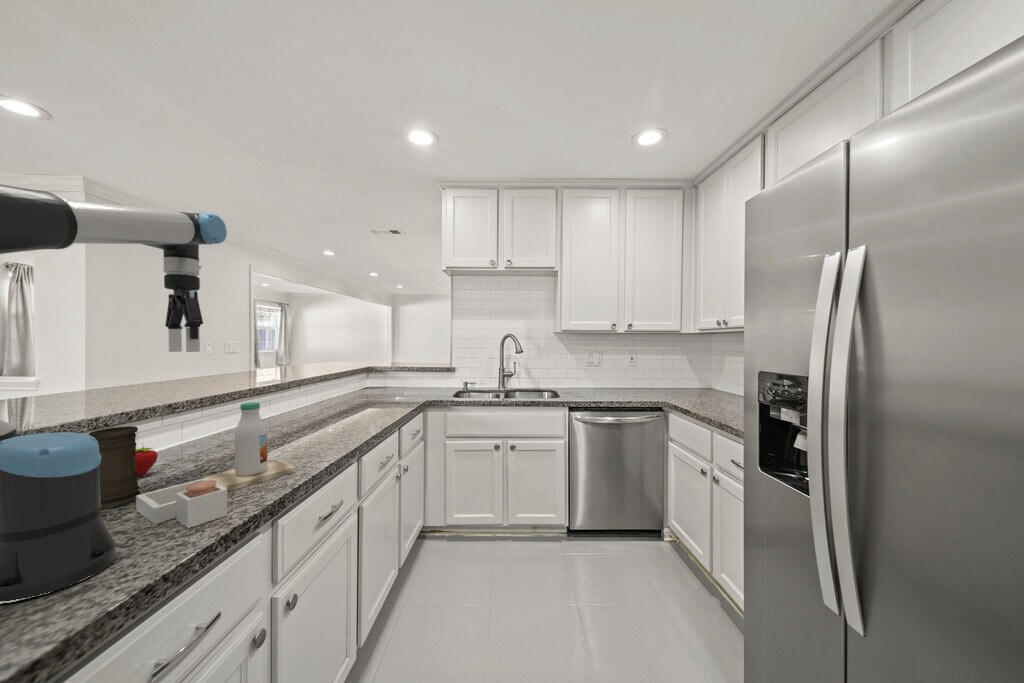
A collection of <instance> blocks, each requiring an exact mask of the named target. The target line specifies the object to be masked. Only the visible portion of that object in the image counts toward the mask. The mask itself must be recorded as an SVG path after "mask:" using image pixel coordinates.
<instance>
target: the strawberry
mask: <svg viewBox="0 0 1024 683" xmlns="http://www.w3.org/2000/svg"><path fill="white" fill-rule="evenodd" d="M141 444H142V447H139V448H136V468H137V476H138V478H139V477H143V476H145V475H146V474H147V473H148V472H149V471H150V469H151V468H153V466H154V465H155V464H156V462H157V460H158V458H159V457H158V456H159V455H158V452H157V451H155V450H154V448H153V447H145V446H144V444H143V442H142V441H141ZM152 449H153V450H152Z"/></svg>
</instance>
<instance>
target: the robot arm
mask: <svg viewBox="0 0 1024 683" xmlns="http://www.w3.org/2000/svg"><path fill="white" fill-rule="evenodd" d="M227 234H228V231H227V226H226V224H225V221H224V219H222V218H221V217H220V216H219V215H218V214H216V213H211V212H204V211H202V212H186V211H177V210H175V211H174V210H167V209H157V208H148V207H139V206H138V207H137V206H130V205H119V204H109V203H103V202H102V203H100V202H93V201H84V200H83V201H82V200H73V199H72V200H71V199H65V198H63V197H62V196H60V195H59V194H57V193H55V192H51V191H45V190H38V189H37V190H36V189H31V188H23V187H19V186H12V185H6V184H0V255H4V254H10V253H12V254H13V253H20V252H30V251H38V250H40V251H42V250H64V249H67V248H69V247H71V246H73V245H74V244H96V245H97V244H100V245H103V244H104V245H107V244H109V245H110V244H116V245H123V244H125V245H126V244H129V245H130V244H131V245H134V244H135V245H136V244H137V245H142V246H144V245H145V246H148V247H152V248H156V249H160V250H163V252H162V253H163V272H164V273H165V274H164V277H163V284H164V285H163V286H164V288H165V289H166V290H172V291H173V293H169V294H168V305H167V311H166V312H167V313H166V319H165V327H166V328H167V329H168V353H178V352H180V353H181V352H182V351H183V347H182V346H183V345H182V343H183V341H182V336H183V335H182V330H183V328H185V352H186V353H196V352H197V353H199V352H201V351H200V348H201V345H200V344H201V343H200V340H201V339H200V327H201V325H203V324H204V320H203V316H202V312H201V311H202V310H201V306H200V303H199V299H198V298H199V297H198V296H199V295H198V291H199V290H200V289H201V284H200V283H201V279H200V277H199V275H200V270H202V265H200V256H199V255H200V253H199V252H200V251H199V250H200V249H199V248H200V247H199V246H200V245H209V246H211V245H218V244H222V243H223V242H225V240H226V238H227ZM183 317H184V320H185V323H184V325H181V324H182V321H183ZM183 326H184V327H183ZM107 527H108V526H106V524H105V522H104V521H103V518H102V509H101V455H100V453H99V444H98V441H97V440H96V439H95V438H94V437H92V436H90V435H89V434H85V433H81V432H80V433H79V432H71V431H70V432H66V431H65V432H64V431H62V432H61V431H60V432H52V433H51V432H44V433H43V432H42V433H33V434H25V435H20V436H18V433H17V428H16V425H15V424H13V423H10V422H8V421H7V422H6V421H4V420H1V419H0V601H10V600H16V599H22V598H28V597H32V596H37V595H40V594H44V593H48V592H51V591H55V590H58V589H61V588H64V587H67V586H69V585H71V584H74V583H76V582H78V581H80V580H82V579H84V578H86V577H88V576H91V575H93V574H95V573H97V572H99V571H100V572H102V571H103V570H102V569H103V568H105V567H106V566H108V565H109V564H110V563H111V562H112V563H114V561H115V560H116V559H117V546H116V545H117V544H116V542H115V540H114V539H113V537H112V534H111V533H110V531H109V529H108V528H107ZM112 563H111V564H112ZM111 564H110V565H111ZM110 565H109V566H110ZM109 566H108V567H109ZM106 568H107V567H106ZM106 568H105V569H106ZM101 570H102V571H101ZM100 572H99V573H100ZM97 574H98V573H97ZM95 575H96V574H95ZM93 576H94V575H93ZM91 577H92V576H91ZM76 584H77V583H76ZM74 585H75V584H74ZM69 587H70V586H69ZM67 588H68V587H67ZM64 589H65V588H64ZM61 590H62V589H61ZM58 591H59V590H58Z"/></svg>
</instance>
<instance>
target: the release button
mask: <svg viewBox="0 0 1024 683" xmlns="http://www.w3.org/2000/svg"><path fill="white" fill-rule="evenodd" d="M215 485H216V481H215V480H206V481H200V482H196V483H193V484H190V485H188V486H187V487H186V491H188V492H189V498H194V497H198V496H201V495H205V494H208V493H212V492H214V486H215Z"/></svg>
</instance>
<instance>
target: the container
mask: <svg viewBox="0 0 1024 683" xmlns="http://www.w3.org/2000/svg"><path fill="white" fill-rule="evenodd" d="M138 431H139V429H138V427H137V426H133V425H132V426H131V425H129V426H116V427H108V428H103V429H98V430H94V431H91V432H89V433H88V435H90V436H92V437H94V438H95V439H96V440H97V441H98V444H99V453H100V455H101V510H107V509H112V508H113V509H114V508H117V507H121V506H125V505H127V504H130V503H133V502H136V495H140V494H142V493H141V491H139V490H140V486H139V483H138V478H139V476H137V468H136V449H137V442H136V438H137V432H138Z"/></svg>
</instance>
